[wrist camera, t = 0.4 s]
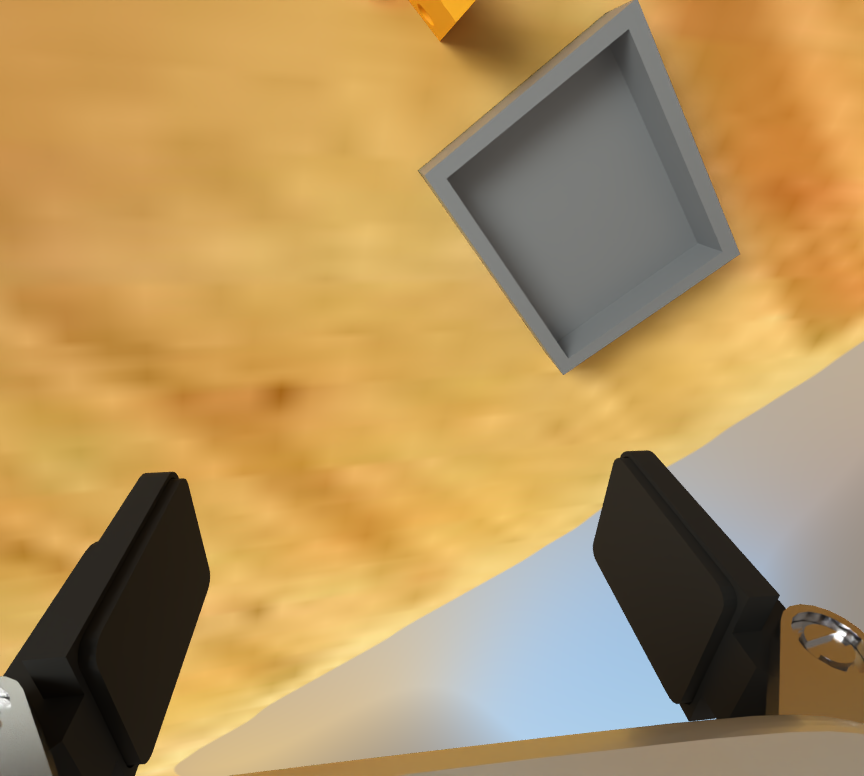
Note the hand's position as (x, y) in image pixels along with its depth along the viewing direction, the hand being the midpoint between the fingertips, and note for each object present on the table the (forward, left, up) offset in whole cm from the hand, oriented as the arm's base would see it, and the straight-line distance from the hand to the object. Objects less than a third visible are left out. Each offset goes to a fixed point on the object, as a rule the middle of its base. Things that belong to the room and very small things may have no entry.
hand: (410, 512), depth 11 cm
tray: (-13, +7, -28) cm, 32 cm away
